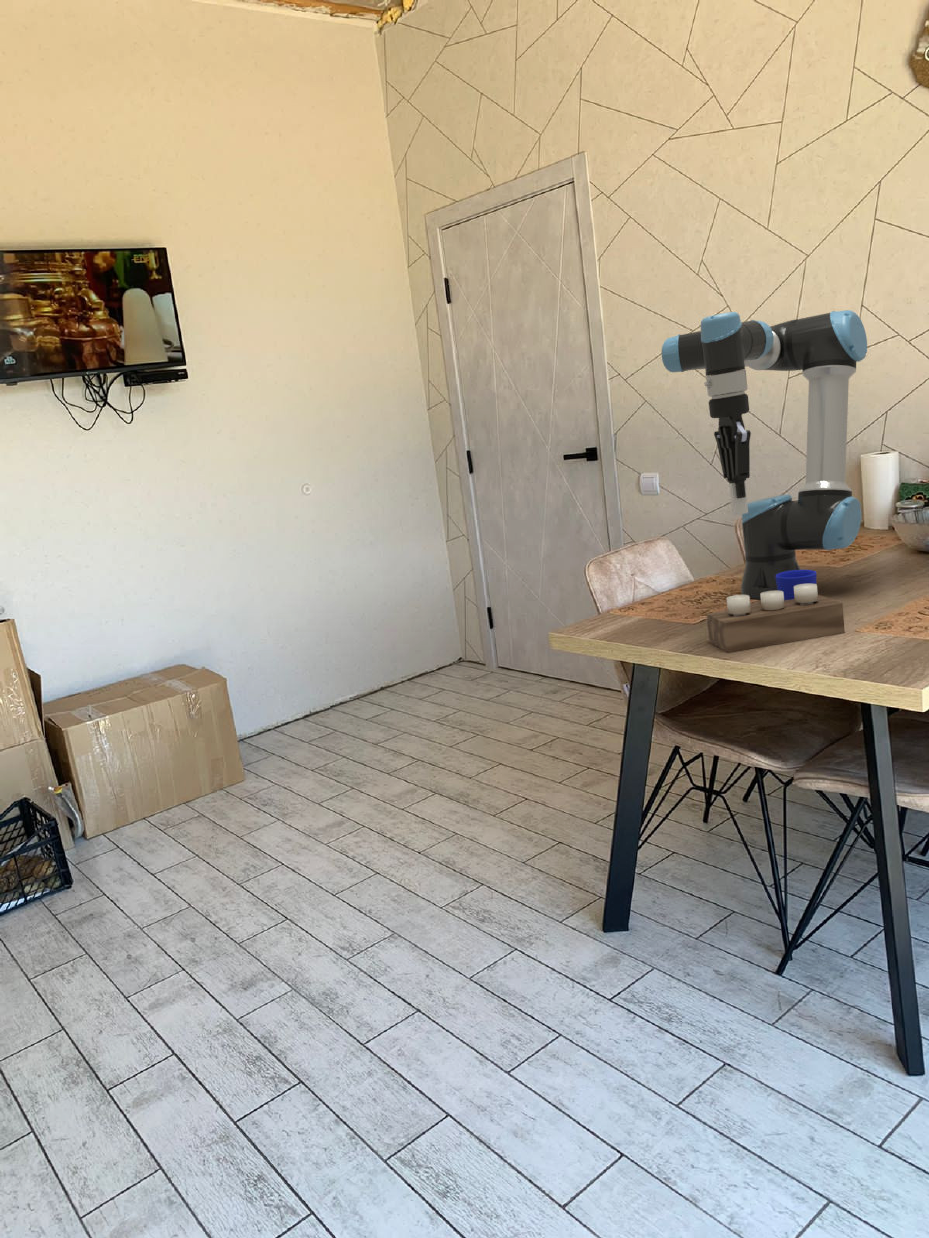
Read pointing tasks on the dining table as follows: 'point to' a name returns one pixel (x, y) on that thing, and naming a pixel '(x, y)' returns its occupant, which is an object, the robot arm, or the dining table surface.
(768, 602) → the knob
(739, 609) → the knob
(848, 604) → the dining table surface
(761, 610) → the mount
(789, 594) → the mug
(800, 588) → the knob
